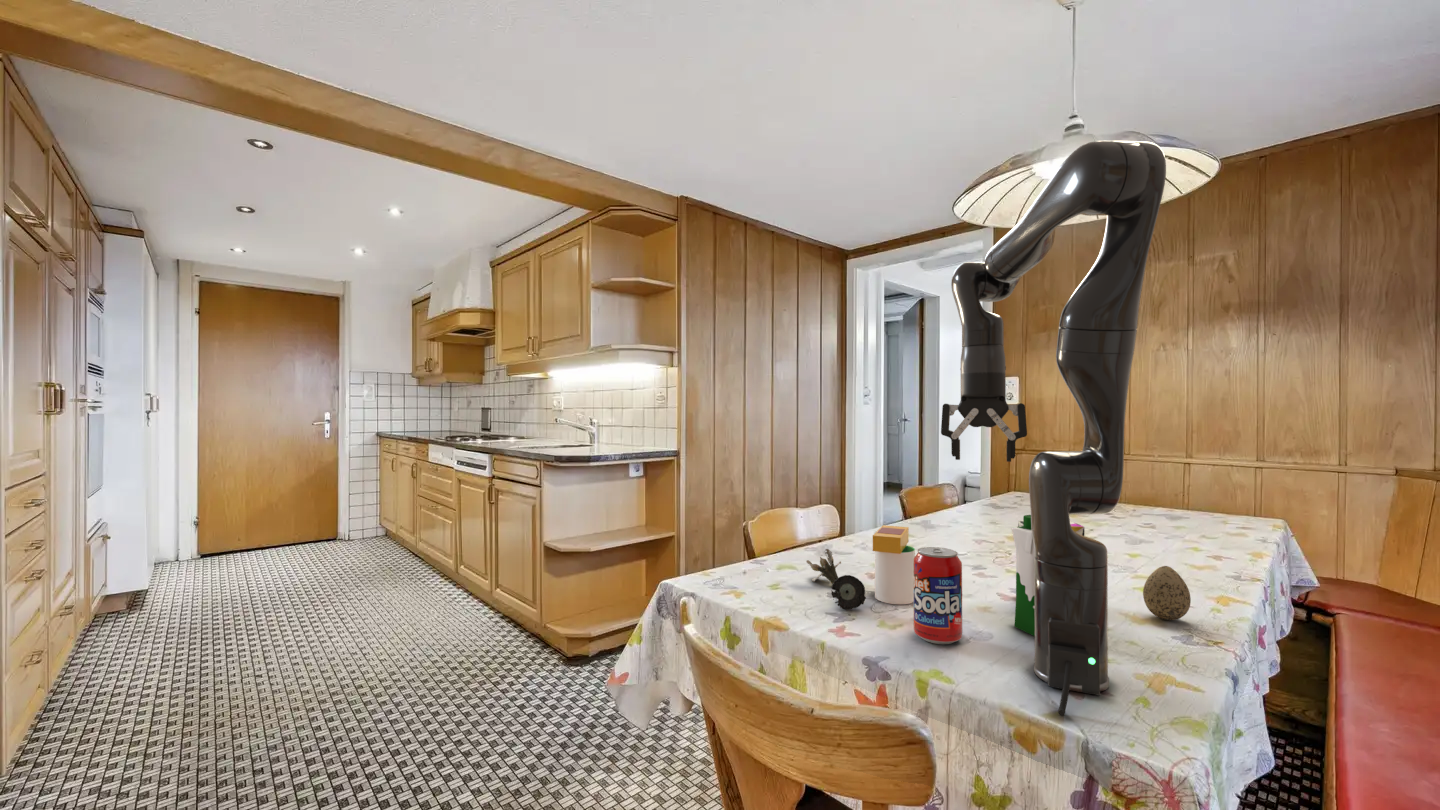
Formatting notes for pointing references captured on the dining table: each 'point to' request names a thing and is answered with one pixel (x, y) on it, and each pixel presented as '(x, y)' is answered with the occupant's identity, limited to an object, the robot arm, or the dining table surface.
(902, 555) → the mug
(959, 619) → the soda can
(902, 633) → the dining table surface
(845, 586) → the dark long pronged piece
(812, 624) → the dining table surface
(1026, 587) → the milk carton
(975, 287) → the robot arm
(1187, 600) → the decorative egg
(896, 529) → the tea packet
